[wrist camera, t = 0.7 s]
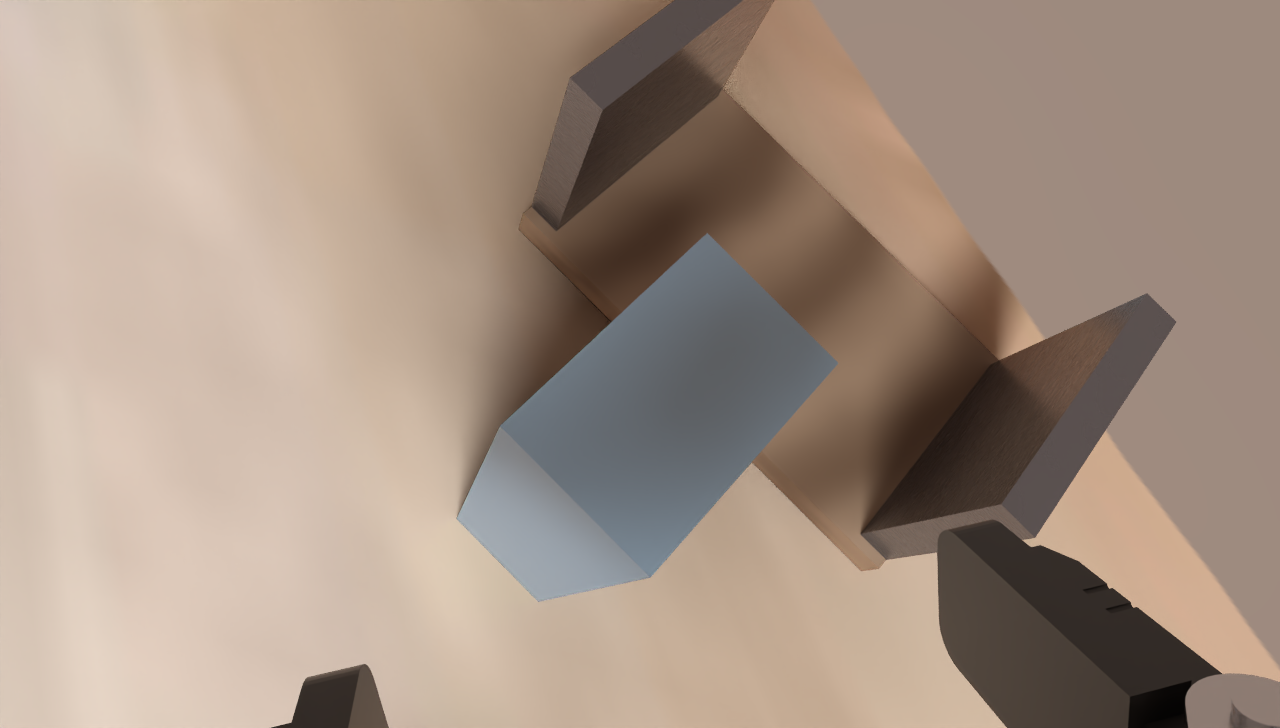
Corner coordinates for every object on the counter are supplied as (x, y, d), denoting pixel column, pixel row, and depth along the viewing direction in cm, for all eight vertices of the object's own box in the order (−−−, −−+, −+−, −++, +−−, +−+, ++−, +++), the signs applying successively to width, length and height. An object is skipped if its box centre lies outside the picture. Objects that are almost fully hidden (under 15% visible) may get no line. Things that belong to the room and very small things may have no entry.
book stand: (518, 229, 37) (523, 213, 35) (692, 87, 41) (702, 68, 40) (861, 571, 36) (879, 568, 35) (998, 388, 41) (1018, 379, 40)
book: (456, 518, 32) (500, 426, 18) (580, 399, 35) (707, 233, 21) (538, 601, 32) (650, 577, 18) (656, 475, 35) (838, 363, 20)
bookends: (531, 206, 36) (570, 77, 27) (695, 74, 40) (772, -72, 32) (885, 559, 35) (1035, 537, 27) (1013, 387, 39) (1176, 321, 31)
